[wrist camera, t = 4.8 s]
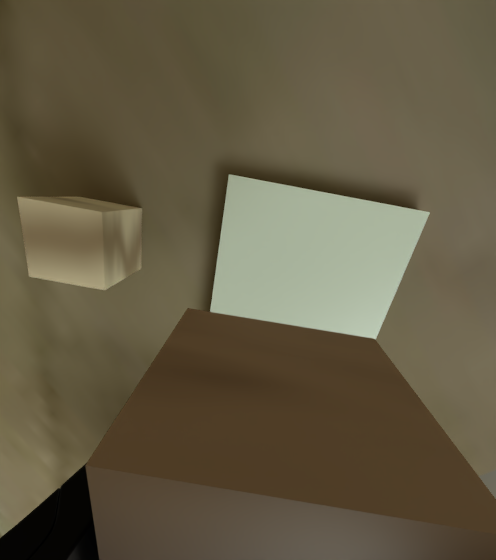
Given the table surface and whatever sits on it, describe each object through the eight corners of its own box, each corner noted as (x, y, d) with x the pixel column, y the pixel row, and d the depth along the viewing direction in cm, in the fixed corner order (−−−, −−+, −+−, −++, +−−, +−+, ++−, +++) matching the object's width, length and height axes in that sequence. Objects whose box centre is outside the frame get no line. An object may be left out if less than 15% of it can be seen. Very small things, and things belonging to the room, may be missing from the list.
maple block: (141, 268, 20) (104, 290, 15) (83, 257, 20) (29, 276, 15) (142, 208, 18) (102, 212, 14) (79, 196, 18) (17, 196, 14)
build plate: (355, 364, 22) (361, 373, 21) (208, 337, 22) (205, 345, 21) (419, 211, 17) (429, 212, 16) (231, 175, 17) (228, 174, 16)
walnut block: (324, 461, 10) (374, 682, 6) (179, 437, 10) (111, 637, 6) (374, 338, 8) (525, 539, 3) (187, 308, 8) (85, 465, 3)
